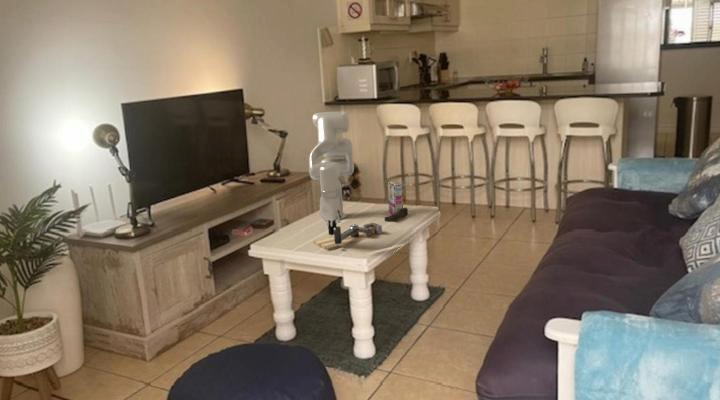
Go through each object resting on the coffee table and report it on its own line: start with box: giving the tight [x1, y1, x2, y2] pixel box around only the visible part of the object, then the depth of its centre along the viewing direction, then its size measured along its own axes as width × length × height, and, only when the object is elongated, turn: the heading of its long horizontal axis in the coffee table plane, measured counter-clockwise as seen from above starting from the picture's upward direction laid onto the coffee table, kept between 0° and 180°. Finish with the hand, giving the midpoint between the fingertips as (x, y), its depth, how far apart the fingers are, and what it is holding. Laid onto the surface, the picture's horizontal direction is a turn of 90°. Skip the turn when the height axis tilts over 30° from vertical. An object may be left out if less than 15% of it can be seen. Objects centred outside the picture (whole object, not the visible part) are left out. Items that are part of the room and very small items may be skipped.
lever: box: [333, 223, 372, 244], centre depth 263 cm, size 10×20×8 cm, turn 154°
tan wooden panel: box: [313, 222, 384, 251], centre depth 270 cm, size 13×30×5 cm, turn 122°
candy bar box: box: [387, 181, 404, 215], centre depth 309 cm, size 11×5×16 cm, turn 14°
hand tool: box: [384, 207, 409, 223], centre depth 300 cm, size 19×4×5 cm, turn 141°
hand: (332, 234), depth 260 cm, fingers closed
